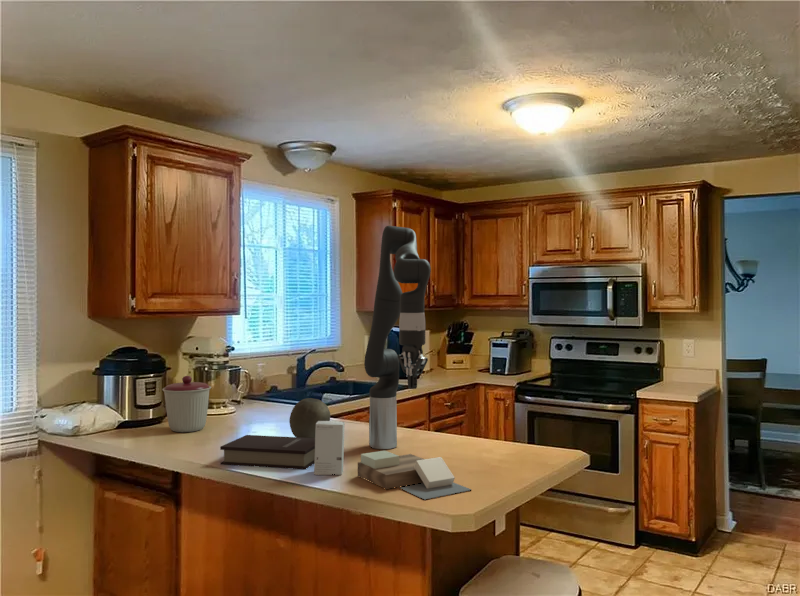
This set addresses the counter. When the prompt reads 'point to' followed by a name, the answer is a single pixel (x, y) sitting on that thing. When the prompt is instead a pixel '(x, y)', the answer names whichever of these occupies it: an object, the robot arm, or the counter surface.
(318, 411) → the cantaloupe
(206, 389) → the canister
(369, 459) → the sage tile
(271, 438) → the book
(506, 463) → the counter surface
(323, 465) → the skincare box
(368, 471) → the walnut board
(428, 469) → the cream tile
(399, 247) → the robot arm
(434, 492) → the grey mat
